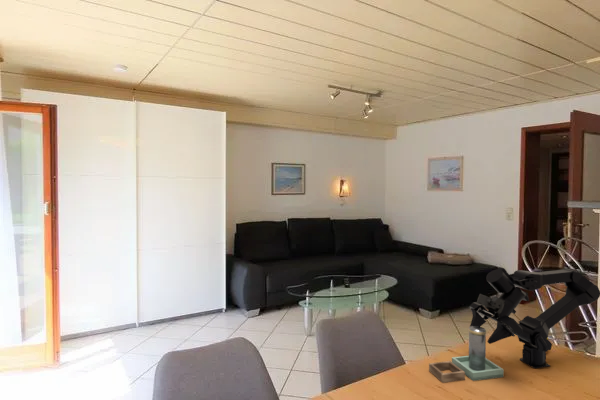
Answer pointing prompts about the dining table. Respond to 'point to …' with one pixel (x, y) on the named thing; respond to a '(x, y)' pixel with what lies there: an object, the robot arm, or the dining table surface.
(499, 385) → the dining table surface
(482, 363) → the grey cylindrical piece
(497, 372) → the tray
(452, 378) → the holder
